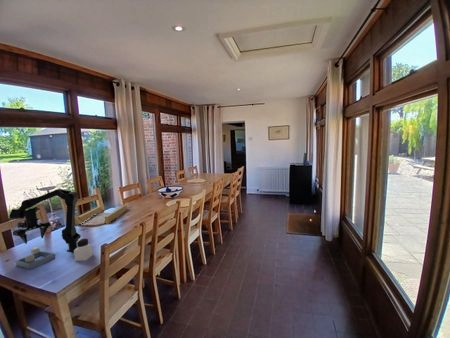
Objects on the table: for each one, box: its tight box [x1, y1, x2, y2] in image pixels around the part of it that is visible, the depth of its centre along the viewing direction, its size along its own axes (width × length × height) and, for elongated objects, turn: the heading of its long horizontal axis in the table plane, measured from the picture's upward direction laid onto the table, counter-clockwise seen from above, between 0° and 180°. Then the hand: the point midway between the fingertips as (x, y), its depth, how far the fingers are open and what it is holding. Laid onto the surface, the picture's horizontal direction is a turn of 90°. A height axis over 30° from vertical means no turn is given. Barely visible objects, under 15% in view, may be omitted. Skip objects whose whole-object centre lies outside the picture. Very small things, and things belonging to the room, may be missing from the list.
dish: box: [15, 250, 56, 270], centre depth 138 cm, size 14×14×3 cm
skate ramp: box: [74, 204, 128, 226], centre depth 216 cm, size 40×35×16 cm
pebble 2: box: [30, 246, 41, 255], centre depth 147 cm, size 4×4×4 cm
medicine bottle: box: [73, 238, 94, 262], centre depth 140 cm, size 7×7×12 cm
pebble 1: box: [24, 254, 36, 263], centre depth 135 cm, size 4×4×4 cm
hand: (34, 240), depth 147 cm, fingers open, 9 cm apart
